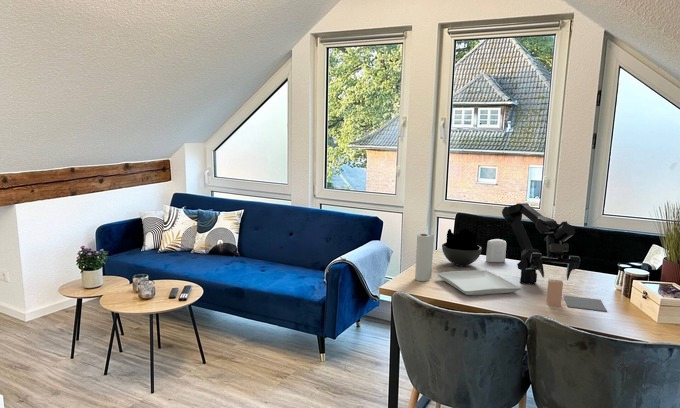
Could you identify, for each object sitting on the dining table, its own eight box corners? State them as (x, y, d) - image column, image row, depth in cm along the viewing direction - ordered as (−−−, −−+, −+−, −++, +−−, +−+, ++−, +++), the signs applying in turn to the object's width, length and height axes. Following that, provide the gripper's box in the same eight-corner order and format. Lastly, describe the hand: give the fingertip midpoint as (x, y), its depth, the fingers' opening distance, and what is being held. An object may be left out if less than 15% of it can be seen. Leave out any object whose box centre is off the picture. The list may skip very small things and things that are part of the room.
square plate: (464, 299, 200) (465, 290, 199) (434, 279, 226) (435, 271, 225) (521, 295, 207) (522, 286, 206) (486, 276, 233) (486, 268, 232)
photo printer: (502, 260, 263) (504, 238, 261) (506, 262, 258) (508, 240, 257) (484, 260, 261) (486, 238, 260) (488, 262, 257) (489, 240, 255)
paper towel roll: (414, 280, 222) (416, 235, 219) (416, 277, 228) (418, 232, 225) (429, 282, 220) (432, 236, 217) (431, 278, 226) (433, 234, 223)
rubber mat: (567, 307, 193) (567, 306, 192) (563, 296, 206) (563, 295, 206) (607, 312, 188) (607, 311, 188) (600, 300, 201) (600, 299, 201)
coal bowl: (485, 264, 254) (487, 229, 252) (473, 272, 238) (476, 235, 235) (448, 258, 265) (450, 224, 262) (435, 266, 248) (437, 230, 245)
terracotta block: (547, 304, 195) (549, 281, 194) (546, 301, 199) (548, 279, 197) (560, 306, 193) (563, 283, 192) (559, 303, 197) (561, 280, 196)
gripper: (533, 233, 202) (533, 265, 193) (581, 237, 197) (584, 270, 188) (529, 248, 211) (530, 279, 202) (576, 251, 206) (579, 284, 197)
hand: (555, 278), depth 197 cm, fingers open, 9 cm apart
